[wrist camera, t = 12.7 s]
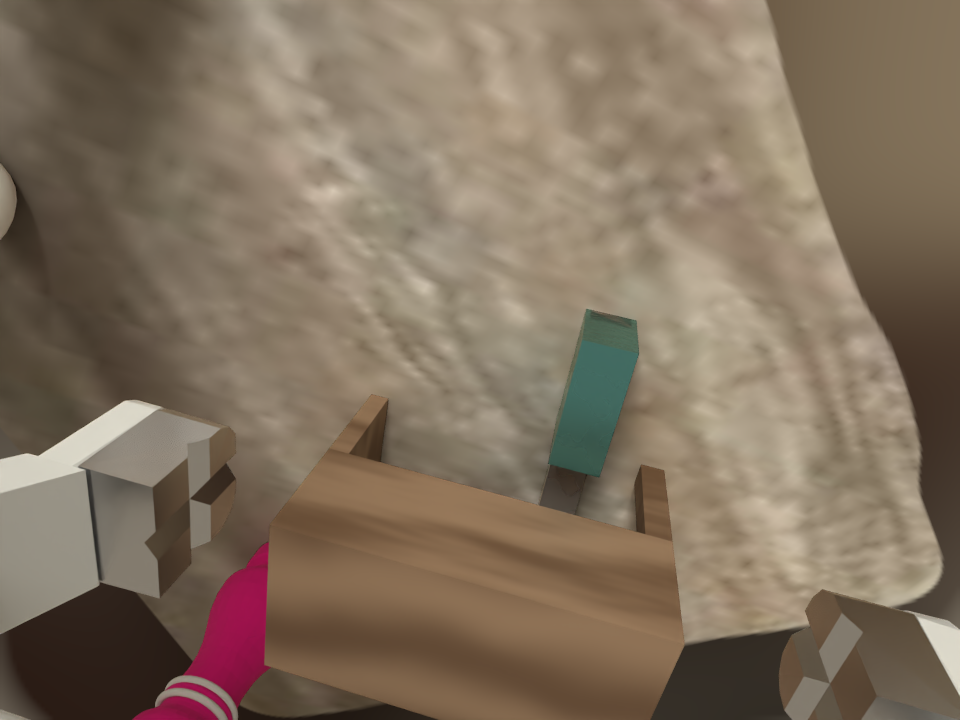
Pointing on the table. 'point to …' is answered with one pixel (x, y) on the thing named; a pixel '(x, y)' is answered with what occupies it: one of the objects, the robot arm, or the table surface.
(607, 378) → the block
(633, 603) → the wooden bench
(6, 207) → the white knot
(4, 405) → the table surface
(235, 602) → the pepper mill
